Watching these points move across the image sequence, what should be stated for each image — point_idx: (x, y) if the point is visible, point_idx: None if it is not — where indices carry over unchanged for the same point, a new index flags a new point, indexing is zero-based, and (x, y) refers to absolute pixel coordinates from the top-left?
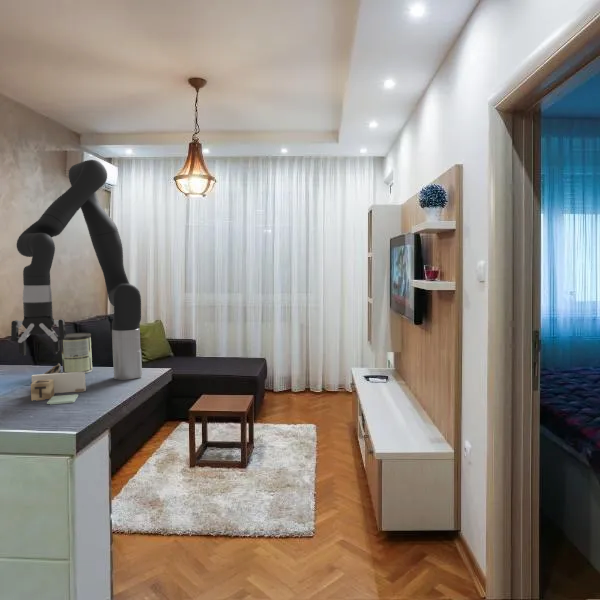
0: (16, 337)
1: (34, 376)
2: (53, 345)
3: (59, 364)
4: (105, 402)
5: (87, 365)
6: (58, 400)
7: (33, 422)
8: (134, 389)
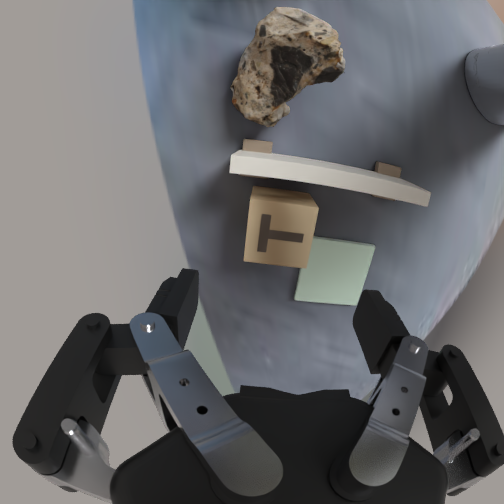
0: (117, 374)
1: (242, 173)
2: (367, 357)
3: (342, 60)
4: (409, 322)
5: None
6: (322, 291)
7: (275, 387)
8: (482, 238)
